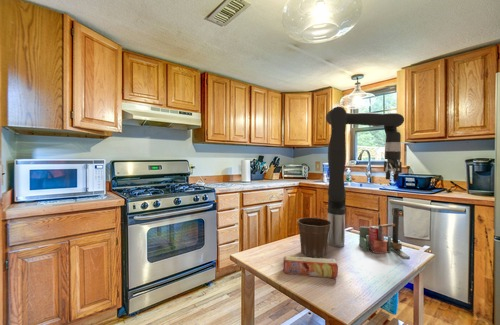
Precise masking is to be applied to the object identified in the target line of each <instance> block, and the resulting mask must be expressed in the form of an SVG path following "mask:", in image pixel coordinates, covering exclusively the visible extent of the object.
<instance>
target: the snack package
mask: <svg viewBox="0 0 500 325" xmlns="http://www.w3.org/2000/svg"><path fill="white" fill-rule="evenodd" d="M337 263H338V262H337V261H336V259H334V258H324V257H322V258H317V257H314V258H311V257H307V256H303V257H302V256H288V255H284V256H283V270H282V271H283V273H284V274H289V275H299V276H309V277H318V278H319V277H320V278H330V279H337V277H338V271H339V270H338V268H339V267H338V266H339V265H338V264H337Z"/></svg>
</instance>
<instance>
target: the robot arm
mask: <svg viewBox="0 0 500 325" xmlns="http://www.w3.org/2000/svg"><path fill="white" fill-rule="evenodd" d="M325 121H326V123H328V124H329V125H330V127H331V128H330V129H331V130H330V131H331V134H330V138H329V142H328V148H327V162H328V163H327V164H328V174H329V175H328V177H329V179H328V187H327V188H328V189H327V196H328V197H327V219H326V220H328V221H330V222H331V225H330V229H329V233H328V242H327V246H333V247H344V246H345V238H346V237H345V236H346V232H345V231H346V230H345V229H346V202H347V201H346V200H347V199H346V196H347V195H346V194H347V192H346V187H345V178H344V177H345V170H346V169H345V168H346V160H347V158H346V157H347V155H346V154H347V153H346V152H347V149H346V129H347V125H358V126H371V127H381V126H383V128H384V133H385V144H384V161H383V172H385V180H386V181H387V180H388V181H389V180H391V172H393V181H394V182H398V181H399V175H400V174H401V173H402V172H403V171H402V170H403V169H402V168H403V167H402V163H403V162H402V161H400V160H401V156H402V152H401V151H402V146H401V145H402V144H401V143H402V142H401V138H402V134H401V132H399V131H398V128H397V127H400V126H402V125H403V124H404V122H405V117H404V116H403V115H402V114H401V113H396V112H395V113H394V112H392V113H391V112H389V113H379V112H378V113H377V112H357V113H356V112H353V113H352V112H347V111H346V109H345V108H344V107H343V106H335V107H333V108H332V109H330V110H329V111H328V112H327V113H326V115H325ZM385 160H386V161H385Z"/></svg>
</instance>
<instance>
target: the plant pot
mask: <svg viewBox="0 0 500 325" xmlns="http://www.w3.org/2000/svg"><path fill="white" fill-rule="evenodd" d="M296 221H297V225H298V230H299V242H300V243H299V244H300V251H301V254H302V255H303V256H304V257H307V258H324V257H326V256H327V252H328V244H327V242H328V233H329V229H330V225H331V222H330V221H328V220H327V219H323V218H320V217H319V218H318V217H301V218H298V219H297V220H296Z"/></svg>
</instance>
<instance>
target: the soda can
mask: <svg viewBox="0 0 500 325" xmlns="http://www.w3.org/2000/svg"><path fill="white" fill-rule="evenodd" d="M378 226H379V225H374V224H373V225H369V227H370V228H369V235H368V236H369V245H368V249H370V250H371V251H373V240H378ZM384 236H385V232H384V228H383V229H382V240H384V238H385V237H384Z"/></svg>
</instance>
